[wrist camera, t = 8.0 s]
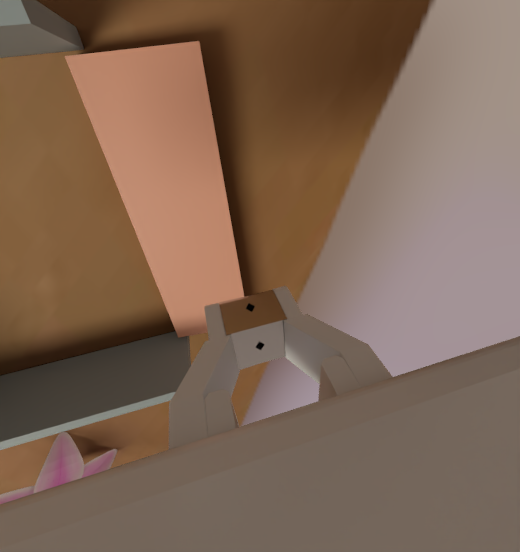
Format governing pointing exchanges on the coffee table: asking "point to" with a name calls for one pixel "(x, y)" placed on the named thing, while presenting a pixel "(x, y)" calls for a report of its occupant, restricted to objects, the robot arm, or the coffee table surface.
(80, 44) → the frame
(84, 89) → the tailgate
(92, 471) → the lily
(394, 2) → the coffee table surface
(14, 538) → the robot arm
